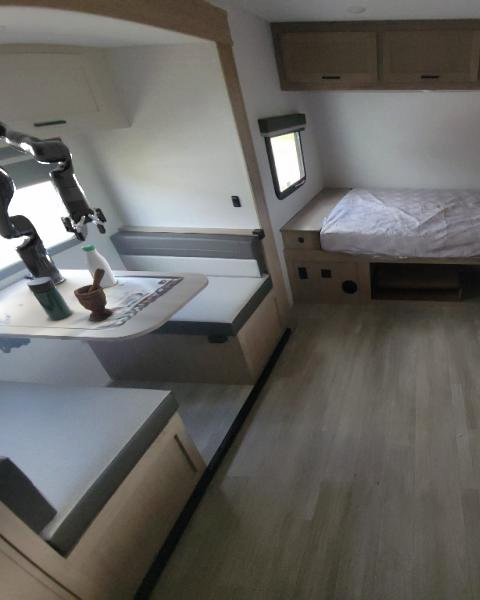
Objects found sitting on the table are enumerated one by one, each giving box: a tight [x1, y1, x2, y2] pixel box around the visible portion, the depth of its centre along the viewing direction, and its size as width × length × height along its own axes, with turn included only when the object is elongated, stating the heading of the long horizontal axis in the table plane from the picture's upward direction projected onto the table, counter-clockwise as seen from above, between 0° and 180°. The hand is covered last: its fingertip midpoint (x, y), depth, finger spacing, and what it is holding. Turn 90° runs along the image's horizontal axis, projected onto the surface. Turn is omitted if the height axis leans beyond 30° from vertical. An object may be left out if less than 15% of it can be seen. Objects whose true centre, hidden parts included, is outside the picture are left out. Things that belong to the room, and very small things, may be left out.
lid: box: [26, 277, 56, 294], centre depth 131 cm, size 7×7×3 cm
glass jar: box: [31, 285, 73, 321], centre depth 135 cm, size 7×7×16 cm
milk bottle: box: [81, 244, 117, 289], centre depth 156 cm, size 8×8×20 cm
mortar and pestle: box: [73, 268, 113, 322], centre depth 135 cm, size 12×9×20 cm
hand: (93, 237), depth 137 cm, fingers open, 8 cm apart
